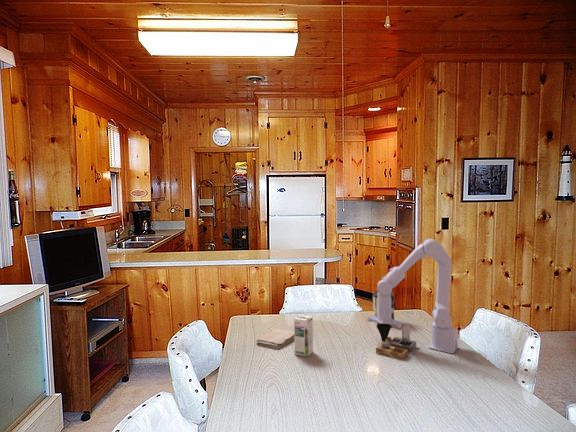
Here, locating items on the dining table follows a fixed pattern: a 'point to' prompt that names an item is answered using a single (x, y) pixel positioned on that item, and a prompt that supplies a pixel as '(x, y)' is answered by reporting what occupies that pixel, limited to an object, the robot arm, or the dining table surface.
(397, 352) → the frame
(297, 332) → the syrup box
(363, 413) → the dining table surface
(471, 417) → the dining table surface
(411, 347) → the socket block
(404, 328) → the metallic rounded cylinder
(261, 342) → the washcloth
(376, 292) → the coffee can
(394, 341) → the drift key
